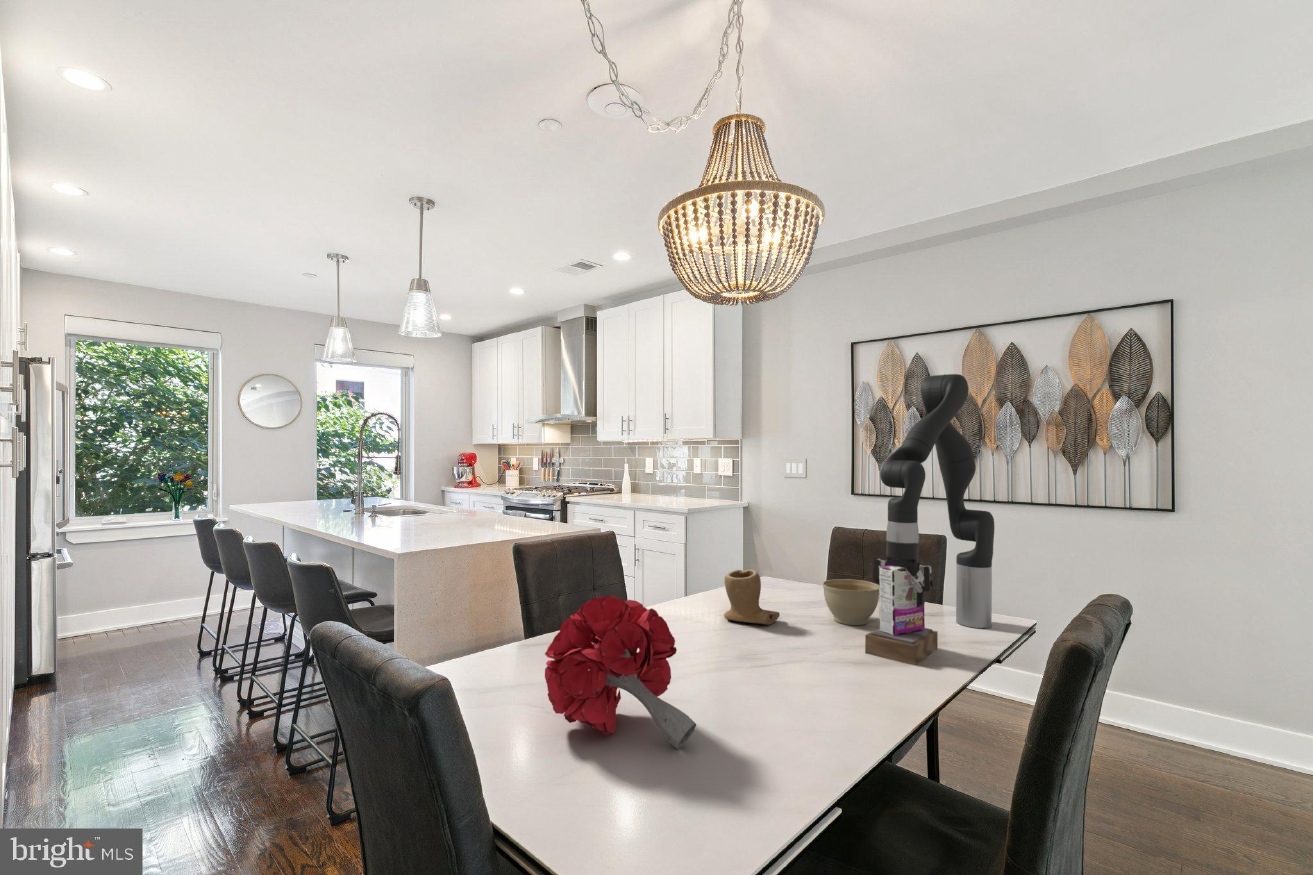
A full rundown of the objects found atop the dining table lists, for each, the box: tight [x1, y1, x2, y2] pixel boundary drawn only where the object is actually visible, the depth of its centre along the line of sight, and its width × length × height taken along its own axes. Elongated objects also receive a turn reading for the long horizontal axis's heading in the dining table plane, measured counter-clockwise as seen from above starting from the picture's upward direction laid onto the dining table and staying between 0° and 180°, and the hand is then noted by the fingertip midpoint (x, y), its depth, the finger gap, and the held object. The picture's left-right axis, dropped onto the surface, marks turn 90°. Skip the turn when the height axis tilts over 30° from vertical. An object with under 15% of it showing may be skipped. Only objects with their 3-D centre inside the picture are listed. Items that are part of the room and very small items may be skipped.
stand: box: [864, 627, 939, 666], centre depth 154 cm, size 16×12×5 cm
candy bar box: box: [878, 564, 926, 636], centre depth 154 cm, size 11×5×16 cm, turn 117°
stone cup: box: [723, 568, 781, 626], centre depth 178 cm, size 15×12×15 cm
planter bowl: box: [822, 578, 880, 626], centre depth 180 cm, size 16×16×11 cm
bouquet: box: [544, 595, 697, 750], centre depth 110 cm, size 22×24×30 cm
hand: (902, 603), depth 154 cm, fingers open, 8 cm apart
